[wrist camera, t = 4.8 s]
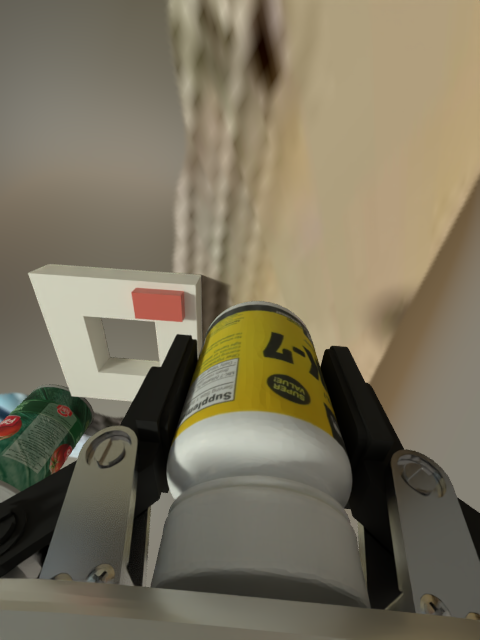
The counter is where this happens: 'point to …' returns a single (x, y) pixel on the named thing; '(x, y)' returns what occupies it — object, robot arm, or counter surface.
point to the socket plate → (113, 302)
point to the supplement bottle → (260, 471)
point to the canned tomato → (40, 437)
